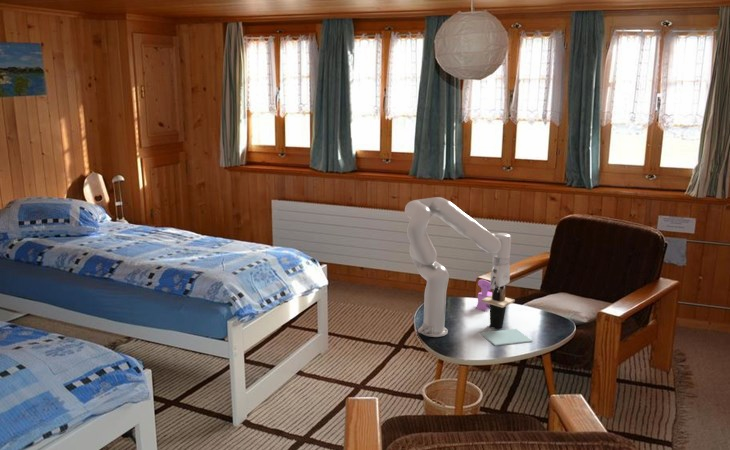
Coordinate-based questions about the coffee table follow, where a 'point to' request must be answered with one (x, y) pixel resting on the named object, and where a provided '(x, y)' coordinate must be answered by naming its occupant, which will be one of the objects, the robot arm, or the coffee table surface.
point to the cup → (496, 316)
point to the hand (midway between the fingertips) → (498, 298)
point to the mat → (505, 337)
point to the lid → (502, 302)
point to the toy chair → (483, 294)
